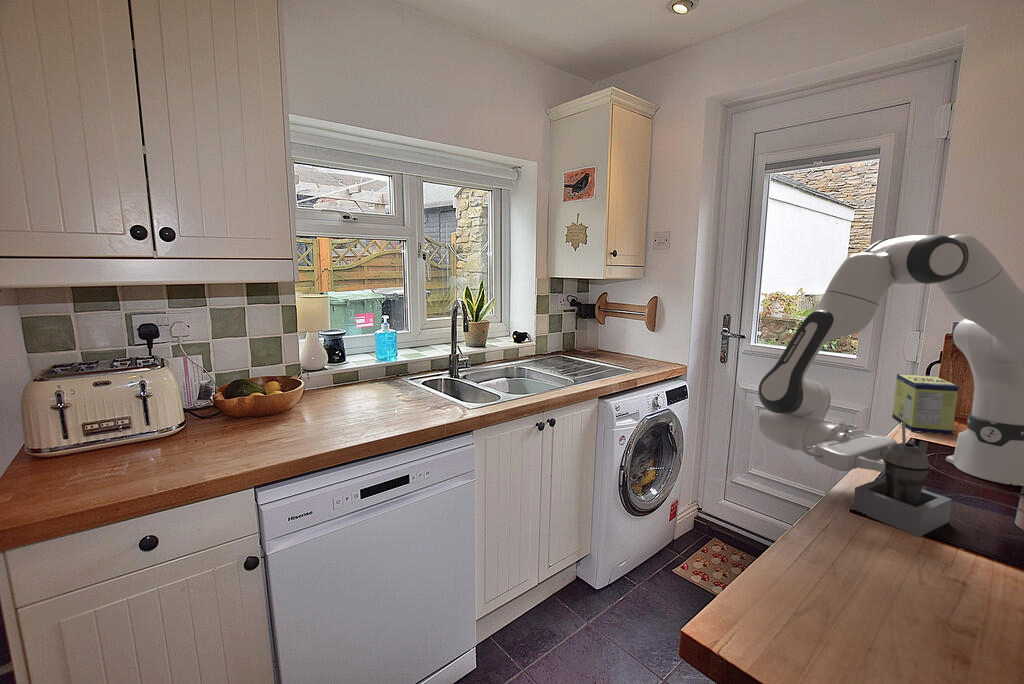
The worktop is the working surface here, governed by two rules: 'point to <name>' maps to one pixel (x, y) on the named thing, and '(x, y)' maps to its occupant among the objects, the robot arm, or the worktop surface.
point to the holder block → (902, 508)
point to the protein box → (925, 403)
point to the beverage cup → (905, 471)
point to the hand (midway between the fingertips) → (898, 463)
